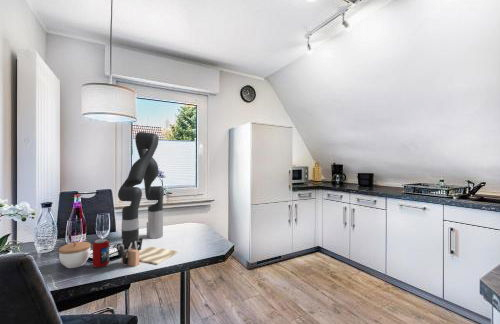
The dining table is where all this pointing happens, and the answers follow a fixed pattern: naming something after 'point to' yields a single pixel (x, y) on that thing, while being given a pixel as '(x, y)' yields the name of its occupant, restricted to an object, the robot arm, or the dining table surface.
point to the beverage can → (100, 253)
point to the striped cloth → (155, 255)
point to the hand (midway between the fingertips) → (130, 262)
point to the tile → (132, 257)
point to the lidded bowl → (74, 254)
